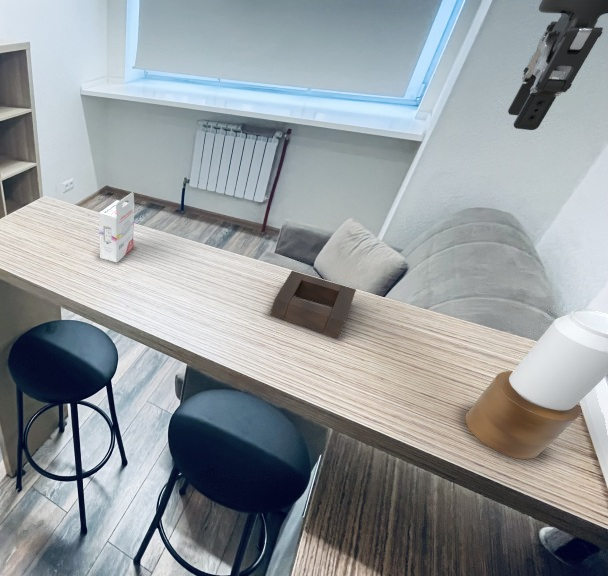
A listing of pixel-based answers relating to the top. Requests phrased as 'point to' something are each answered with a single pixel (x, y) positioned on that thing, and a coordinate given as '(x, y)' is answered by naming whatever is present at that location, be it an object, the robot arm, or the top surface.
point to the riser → (515, 421)
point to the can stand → (309, 312)
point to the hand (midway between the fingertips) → (520, 121)
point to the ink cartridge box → (117, 229)
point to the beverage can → (565, 361)
